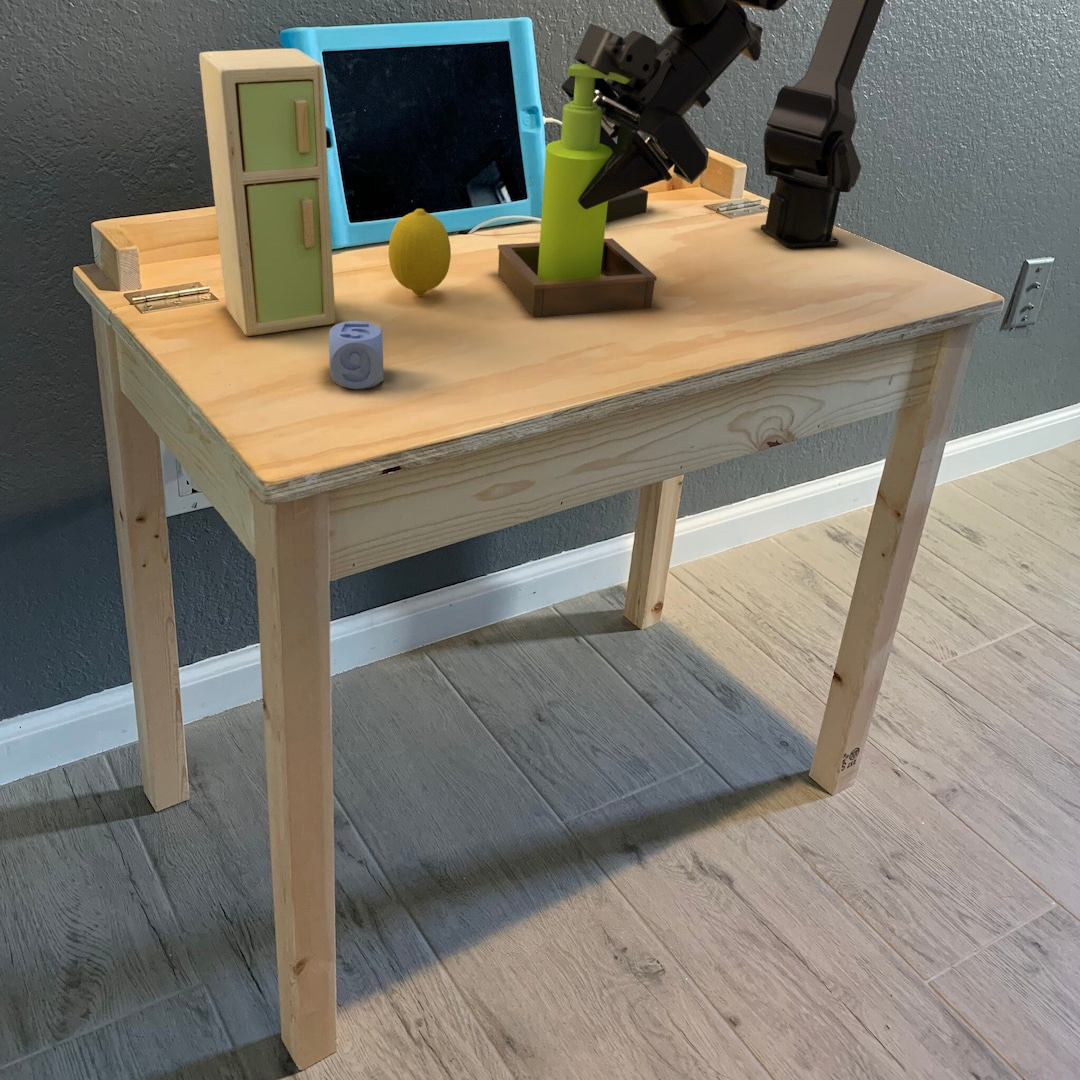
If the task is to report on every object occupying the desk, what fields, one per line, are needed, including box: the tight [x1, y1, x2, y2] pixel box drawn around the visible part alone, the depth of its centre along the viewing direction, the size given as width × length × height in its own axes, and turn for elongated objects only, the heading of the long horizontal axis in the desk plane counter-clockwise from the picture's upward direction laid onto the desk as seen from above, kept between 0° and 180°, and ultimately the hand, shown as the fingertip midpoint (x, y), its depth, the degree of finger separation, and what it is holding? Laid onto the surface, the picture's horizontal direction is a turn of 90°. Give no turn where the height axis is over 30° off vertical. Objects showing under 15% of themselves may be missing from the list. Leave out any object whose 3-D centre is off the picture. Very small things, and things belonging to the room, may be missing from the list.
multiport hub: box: [606, 188, 649, 224], centre depth 127 cm, size 4×11×2 cm, turn 136°
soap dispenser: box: [538, 63, 633, 281], centre depth 101 cm, size 6×7×20 cm
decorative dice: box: [328, 320, 385, 390], centre depth 88 cm, size 4×4×4 cm
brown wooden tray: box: [497, 237, 658, 318], centre depth 106 cm, size 12×11×3 cm
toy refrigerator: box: [198, 48, 336, 337], centre depth 92 cm, size 8×7×21 cm
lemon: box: [388, 208, 452, 297], centre depth 102 cm, size 6×6×8 cm
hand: (566, 195), depth 102 cm, fingers closed on soap dispenser, 6 cm apart
